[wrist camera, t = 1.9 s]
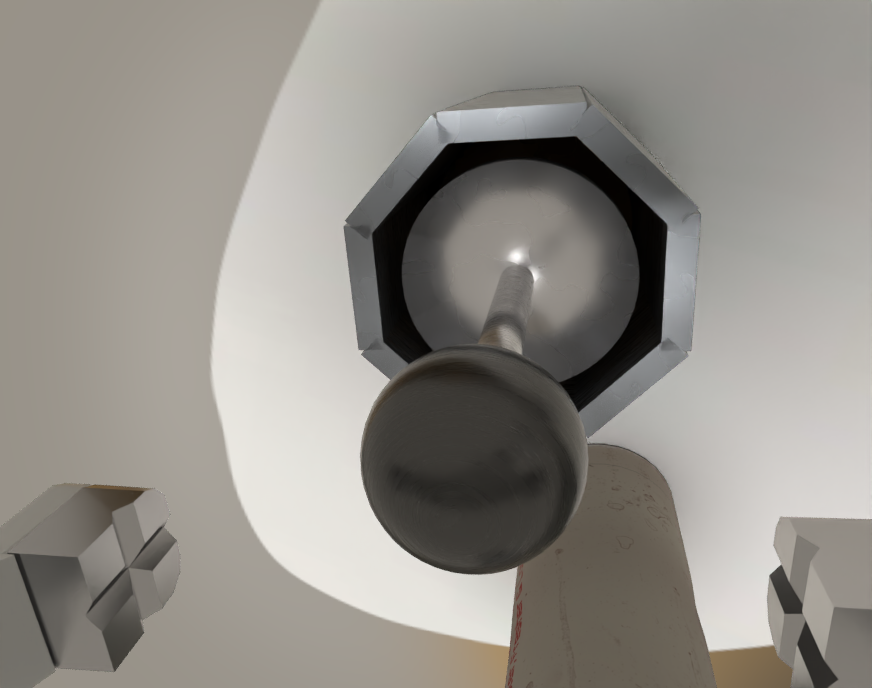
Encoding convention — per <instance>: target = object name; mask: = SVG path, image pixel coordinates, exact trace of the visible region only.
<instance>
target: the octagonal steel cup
mask: <svg viewBox="0 0 872 688" xmlns="http://www.w3.org/2000/svg"><path fill="white" fill-rule="evenodd" d="M510 157H534V158H541V159H547V160H551V161H554V162H558V163H561V164H564V165H566V166H568V167H570V168H573V169H575V170H577V171H579V172H580V173H582V174H584V175H585V176H587V177H588V178H590V179H591V180H593V181H594V182H595V183H596V184H597V185H599V186H600V187H601V188H602V189H603V190H604V191H605V192H606V193H607V194H608V195H609V196H610V197H611V199H612V200H613V201H614V202H615V204H616V205H617V207H618V208H619V210H620V211H621V213H622V214H623V216H624V218H625V220H626V222H627V224H628V226H629V229H630V232H631V235H632V238H633V241H634V244H635V247H636V251H637V257H638V262H639V287H638V295H637V299H636V303H635V307H634V310H633V313H632V315H631V318H630V320H629V323H628V325H627V326H626V328H625V330H624V331H623V333H622V335H621V337H620V338H619V339H618V340H617V342H616V343H615V344H614V346H613V347H612V348H611V349H610V350H609V351H608V352H607V353H606V354H605V355H604V356H603V357H602V358H601V359H600V360H599V361H597V362H596V363H595V364H593V365H592V366H591V367H590V368H588V369H586V370H584V371H583V372H581V373H579V374H578V375H576V376H573V377H571V378H569V379H566V380H564V381H561V382H559V383H560V384H561V385H562V387H563V388H564V389H565V391H566V392H567V393H568V395H569V396H570V398H571V400H572V402H573V403H574V405H575V407H576V409H577V411H578V413H579V416H580V418H581V421H582V423H583V426H584V431H585V435H586V436H587V437H588V438H589V437H590V436H591V435H593V434H594V433H595V432H596V431H597V430H599V429H600V428H601V427H602V426H604V425H605V424H606V423H607V422H608V421H610V420H611V419H612V418H613V417H615V416H616V415H617V414H618V413H619V412H621V411H622V410H623V409H624V408H625V407H627V406H628V405H629V404H630V403H632V402H633V401H634V400H635V399H636V398H638V397H639V396H640V395H641V394H643V393H644V392H645V391H646V390H647V389H649V388H650V387H651V386H652V385H654V384H655V383H656V382H657V381H658V380H660V379H661V378H662V377H663V376H665V375H666V374H667V373H668V372H669V371H671V370H672V369H673V368H674V367H676V366H677V365H678V364H679V363H680V362H682V361H683V360H684V359H685V358H687V357H688V354H687V351H691V346H692V332H693V318H694V304H695V290H696V277H697V263H698V249H699V235H700V221H701V214H700V212H699V211H698V209H699V208H698V207H697V206H696V205H695V203H694V202H693V201H692V200H691V199H690V198H689V197H688V196H687V194H686V193H685V192H684V191H683V190H682V189H681V188H680V187H679V185H678V184H677V183H676V182H675V181H674V180H673V179H672V177H671V176H670V175H669V174H668V173H667V172H666V171H665V170H664V168H663V167H662V166H661V165H660V164H659V163H658V162H657V161H656V159H655V158H654V157H653V156H652V155H651V154H650V153H649V152H648V150H647V149H646V148H645V147H644V146H643V145H642V144H641V143H640V142H639V141H638V140H637V139H636V138H635V137H634V136H633V135H632V134H631V133H630V132H629V131H628V130H627V129H626V128H625V127H624V126H623V125H621V124H620V123H619V122H618V121H617V120H616V119H615V118H614V117H613V116H612V115H611V114H610V113H609V112H608V111H607V110H606V109H605V108H604V107H603V106H602V105H601V104H600V103H599V102H598V101H597V100H596V99H595V98H594V97H593V96H592V95H591V94H590V93H589V92H588V91H587V90H586V89H585V88H584V87H583V88H582V89H581V88H580V86H569V87H555V88H540V89H526V90H512V91H498V92H491V93H488V94H485V95H483V96H480V97H477V98H474V99H471V100H469V101H466V102H463V103H460V104H457V105H455V106H452V107H449V108H446V109H443V110H441V111H438V112H437V113H435V114H432V115H431V116H430V117H429V118H428V119H427V121H426V122H425V123H424V124H423V125H422V127H421V128H420V129H419V130H418V132H417V133H416V134H415V135H414V137H413V138H412V139H411V140H410V141H409V143H408V144H407V145H406V146H405V148H404V149H403V150H402V151H401V153H400V154H399V155H398V156H397V157H396V159H395V160H394V161H393V162H392V164H391V165H390V166H389V167H388V169H387V170H386V171H385V172H384V173H383V175H382V176H381V177H380V178H379V180H378V181H377V182H376V183H375V185H374V186H373V187H372V188H371V189H370V191H369V192H368V193H367V194H366V196H365V197H364V198H363V199H362V201H361V202H360V203H359V204H358V205H357V207H356V208H355V209H354V210H353V212H352V213H351V214H350V215H349V217H348V218H347V219H346V220H345V221H346V222H347V224H346V225H344V234H345V242H346V250H347V258H348V267H349V275H350V283H351V291H352V299H353V307H354V316H355V324H356V332H357V340H358V348H359V350H364V351H363V353H362V354H361V355H362V356H364V357H365V358H366V359H367V360H368V361H369V362H371V363H372V364H373V365H374V366H375V367H376V368H377V369H379V370H380V371H381V372H382V373H383V374H384V375H386V376H387V377H388V378H389V379H390V380H391V379H392V378H393V377H394V376H395V375H396V374H397V373H398V372H400V371H401V370H402V369H403V368H404V367H406V366H407V365H408V364H410V363H412V362H413V361H415V360H416V359H418V358H419V357H421V356H423V355H426V354H428V353H430V352H432V351H433V350H432V349H431V348H430V346H429V345H428V344H427V343H426V341H425V340H424V339H423V338H422V336H421V335H420V333H419V331H418V330H417V328H416V326H415V325H414V322H413V320H412V318H411V316H410V313H409V311H408V308H407V304H406V301H405V298H404V291H403V285H402V263H403V254H404V250H405V246H406V242H407V239H408V236H409V234H410V231H411V229H412V226H413V224H414V223H415V221H416V219H417V217H418V215H419V214H420V212H421V211H422V210H423V208H424V207H425V206H426V204H427V203H428V202H429V200H430V199H431V198H432V197H433V196H434V195H435V194H436V193H437V192H438V191H439V190H440V189H441V188H443V187H444V186H445V185H446V184H447V183H448V182H450V181H451V180H452V179H454V178H455V177H456V176H458V175H460V174H461V173H463V172H465V171H467V170H468V169H470V168H473V167H475V166H478V165H480V164H482V163H485V162H489V161H493V160H497V159H502V158H510Z"/></svg>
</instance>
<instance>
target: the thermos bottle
mask: <svg viewBox="0 0 872 688" xmlns="http://www.w3.org/2000/svg"><path fill="white" fill-rule="evenodd" d="M587 446H588V459H589V461H588V472H587V482H586V486H585V490H584V494H583V497H582V500H581V502H580V505H579V507H578V509H577V512H576V514H575V515H574V517H573V519H572V520H571V522H570V523H569V525H568V526H567V528H566V529H565V531H564V532H563V533H562V534H561V536H560V537H559V538H558V539H557V540H556V541H555V542H554V543H553V544H552V545H551V546H549V547H548V548H547V549H546V550H545V551H544V552H542V553H541V554H540V555H538V556H537V557H535V558H534V559H532V560H530V561H528V562H526V563H524V564H522V565H520V566H518V568H517V578H516V587H515V597H514V606H513V617H512V629H511V641H510V651H509V660H508V668H507V676H506V684H505V688H717V686H716V682H715V677H714V673H713V669H712V664H711V660H710V656H709V652H708V647H707V644H706V640H705V636H704V633H703V630H702V626H701V623H700V620H699V617H698V613H697V609H696V605H695V599H694V592H693V586H692V580H691V575H690V571H689V566H688V562H687V558H686V553H685V549H684V545H683V540H682V536H681V532H680V528H679V523H678V519H677V515H676V511H675V506H674V502H673V498H672V493H671V490H670V488H669V486H668V484H667V482H666V480H665V478H664V477H663V476H662V475H661V473H660V472H659V471H658V470H657V468H655V467H654V466H653V465H652V464H651V463H649V462H648V461H647V460H646V459H644V458H643V457H641V456H639V455H637V454H635V453H634V452H631V451H629V450H626V449H623V448H620V447H615V446H609V445H603V444H602V445H587Z"/></svg>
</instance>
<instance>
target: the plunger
mask: <svg viewBox="0 0 872 688" xmlns="http://www.w3.org/2000/svg"><path fill="white" fill-rule="evenodd" d="M402 285H403V291H404V298H405V301H406V304H407V308H408V311H409V313H410V316H411V318H412V320H413V322H414V325H415V326H416V328H417V330H418V331H419V333H420V335H421V336H422V338H423V339H424V340H425V341H426V343H427V344H428V345H429V346H430V348H431V349H432V350H433V351H432V352H430V353H428V354H426V355H423V356H421V357H419V358H418V359H416V360H415V361H413V362H412V363H410V364H408V365H407V366H406V367H404V368H403V369H402V370H401V371H400V372H398V373H397V374H396V375H395V376H394V377H393V378H392V379H391V380H390V382H389V383H388V384H387V385H386V386H385V387H384V389H383V390H382V391H381V393H380V394H379V396H378V398H377V399H376V401H375V402H374V404H373V407H372V409H371V411H370V414H369V416H368V418H367V421H366V423H365V428H364V432H363V436H362V442H361V452H360V461H361V475H362V480H363V485H364V489H365V492H366V495H367V498H368V501H369V503H370V506H371V508H372V510H373V512H374V514H375V516H376V518H377V519H378V521H379V522H380V524H381V525H382V527H383V528H384V529H385V531H386V532H387V533H388V534H389V535H390V537H391V538H392V539H393V540H394V541H395V542H396V543H397V544H398V545H399V546H400V547H402V548H403V549H404V550H405V551H407V552H408V553H409V554H411V555H412V556H414V557H416V558H417V559H419V560H421V561H423V562H425V563H427V564H429V565H431V566H434V567H436V568H439V569H442V570H445V571H450V572H454V573H461V574H475V575H482V574H492V573H497V572H502V571H506V570H509V569H512V568H515V567H517V566H520V565H522V564H524V563H526V562H528V561H530V560H532V559H534V558H535V557H537V556H538V555H540V554H541V553H542V552H544V551H545V550H546V549H547V548H548V547H549V546H551V545H552V544H553V543H554V542H555V541H556V540H557V539H558V538H559V537H560V536H561V534H562V533H563V532H564V531H565V529H566V528H567V526H568V525H569V523H570V522H571V520H572V519H573V517H574V515H575V514H576V512H577V509H578V507H579V505H580V502H581V500H582V497H583V494H584V490H585V486H586V482H587V472H588V461H589V459H588V446H587V440H586V435H585V431H584V426H583V423H582V421H581V418H580V416H579V413H578V411H577V409H576V407H575V405H574V403H573V402H572V400H571V398H570V396H569V395H568V393H567V392H566V391H565V389H564V388H563V387H562V385H561V384H560V383H559V382H561V381H564V380H566V379H569V378H571V377H573V376H576V375H578V374H579V373H581V372H583V371H584V370H586V369H588V368H590V367H591V366H592V365H593V364H595V363H596V362H597V361H599V360H600V359H601V358H602V357H603V356H604V355H605V354H606V353H607V352H608V351H609V350H610V349H611V348H612V347H613V346H614V344H615V343H616V342H617V340H618V339H619V338H620V337H621V335H622V333H623V331H624V330H625V328H626V326H627V325H628V323H629V320H630V318H631V315H632V313H633V310H634V307H635V303H636V299H637V295H638V287H639V262H638V257H637V251H636V247H635V244H634V241H633V238H632V235H631V232H630V229H629V226H628V224H627V222H626V220H625V218H624V216H623V214H622V213H621V211H620V210H619V208H618V207H617V205H616V204H615V202H614V201H613V200H612V199H611V197H610V196H609V195H608V194H607V193H606V192H605V191H604V190H603V189H602V188H601V187H600V186H599V185H597V184H596V183H595V182H594V181H593V180H591V179H590V178H588V177H587V176H585V175H584V174H582V173H580V172H579V171H577V170H575V169H573V168H570V167H568V166H566V165H564V164H561V163H558V162H554V161H551V160H547V159H541V158H534V157H510V158H502V159H497V160H493V161H489V162H485V163H482V164H480V165H478V166H475V167H473V168H470V169H468V170H467V171H465V172H463V173H461V174H460V175H458V176H456V177H455V178H454V179H452V180H451V181H450V182H448V183H447V184H446V185H445V186H444V187H443V188H441V189H440V190H439V191H438V192H437V193H436V194H435V195H434V196H433V197H432V198H431V199H430V200H429V202H428V203H427V204H426V206H425V207H424V208H423V210H422V211H421V212H420V214H419V215H418V217H417V219H416V221H415V223H414V224H413V226H412V229H411V231H410V234H409V236H408V239H407V242H406V246H405V250H404V254H403V263H402Z"/></svg>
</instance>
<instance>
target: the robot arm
mask: <svg viewBox="0 0 872 688" xmlns="http://www.w3.org/2000/svg"><path fill="white" fill-rule="evenodd" d="M169 516H170V511H169V508H168V505H167V501H166V498H165V495H164V494H163V493H161V492H160V491H158V490H156V489H155V488H140V487H126V486H110V485H90V484H75V483H63V484H57V485H52V486H51V487H50V488H48V489H47V490H46V491H45V492H43V493H42V494H41V495H40V496H38V497H37V498H36V499H35V500H33V501H32V502H31V503H30V504H28V505H27V506H26V507H25V508H23V509H22V510H21V511H20V512H19V513H17V514H16V515H15V516H13V517H12V518H11V519H10V520H8V521H7V522H6V523H4V524H3V525H2V526H1V527H0V688H33V687H34V686H35V685H37V684H38V683H40V682H41V681H42V680H44V679H45V678H47V677H48V676H50V675H51V674H53V673H54V672H55V668H61V669H75V670H90V671H105V672H115V671H116V669H117V668H118V667H119V665H120V664H121V663H122V661H123V660H124V659H125V657H126V656H127V655H128V653H129V652H130V651H131V649H132V648H133V647H134V646H135V644H136V643H137V642H138V640H139V639H140V638H141V636H142V635H143V634H144V627H143V620H144V619H145V618H147V617H149V616H150V615H152V614H154V613H155V612H157V611H159V610H160V609H162V608H163V607H164V605H165V604H166V602H167V601H168V600H169V598H170V597H171V596H172V594H173V592H174V590H175V587H176V584H177V580H178V577H179V574H180V552H179V547H178V543H177V540H176V539H175V538H174V537H173V536H172V535H171V534H170V533H169V532H168V531H167V530H166V529H165V528H164V526H165V524H166V522H167V520H168V518H169ZM774 548H775V550H776V552H777V555H778V557H779V559H780V562H781V564H782V565H780V566H779V567H778V568H777V569H776V570H775V571H774V572H773V573H772V574H771V575H769V584H768V595H767V605H768V621H769V626H770V631H771V635H772V640H773V643H774V646H775V648H776V651H777V654H778V657H779V658H780V659H781V660H782V661H784V662H785V663H786V664H787V665H788V666H790V667H791V668H792V669H793V674H792V681H791V688H872V519H845V518H811V517H780V519H779V521H778V524H777V526H776V531H775V538H774Z"/></svg>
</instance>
